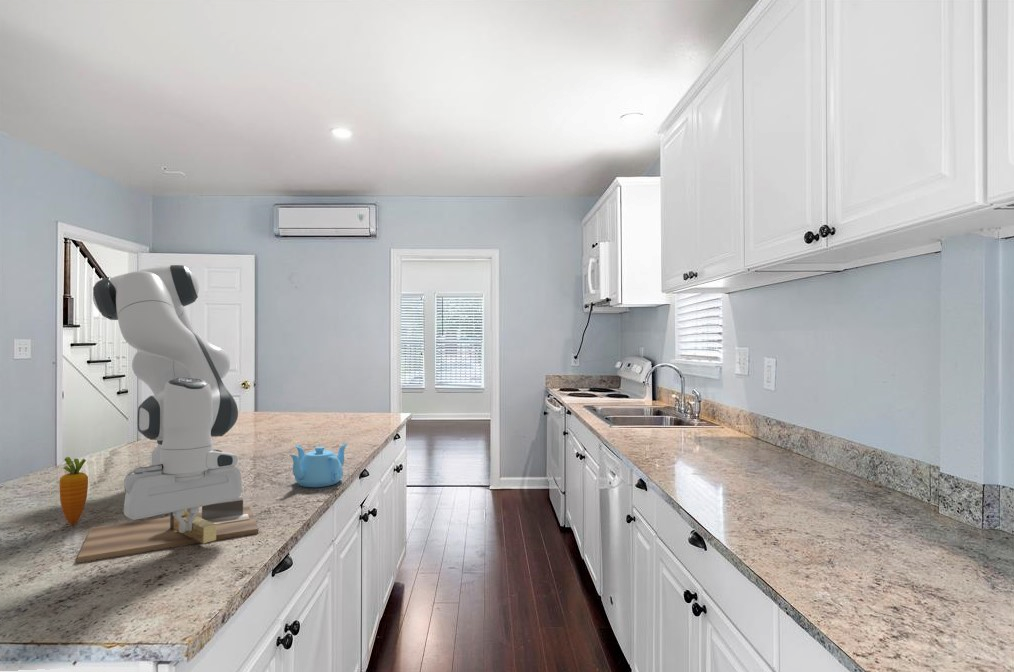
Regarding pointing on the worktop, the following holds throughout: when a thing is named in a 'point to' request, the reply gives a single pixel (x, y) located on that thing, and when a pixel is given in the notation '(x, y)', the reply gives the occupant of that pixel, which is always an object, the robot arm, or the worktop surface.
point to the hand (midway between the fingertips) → (185, 531)
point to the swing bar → (199, 529)
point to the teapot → (318, 467)
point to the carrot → (73, 491)
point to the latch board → (165, 532)
